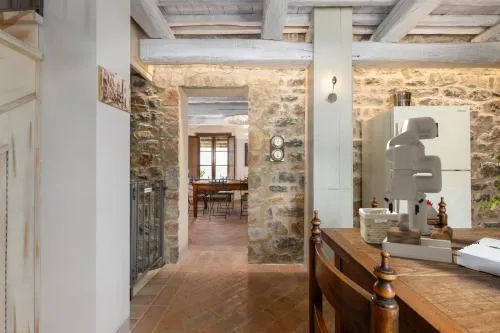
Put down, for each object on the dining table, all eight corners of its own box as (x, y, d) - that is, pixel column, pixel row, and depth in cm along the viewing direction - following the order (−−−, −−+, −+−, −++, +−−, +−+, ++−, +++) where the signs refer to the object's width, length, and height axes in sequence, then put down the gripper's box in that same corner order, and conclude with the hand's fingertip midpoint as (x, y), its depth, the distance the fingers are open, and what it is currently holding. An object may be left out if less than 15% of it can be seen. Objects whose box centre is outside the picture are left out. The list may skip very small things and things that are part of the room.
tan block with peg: (386, 250, 134) (386, 214, 134) (390, 244, 144) (390, 211, 144) (419, 254, 127) (419, 216, 127) (421, 247, 138) (420, 212, 138)
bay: (382, 254, 132) (382, 242, 132) (388, 245, 147) (388, 234, 147) (452, 262, 120) (451, 249, 120) (450, 252, 134) (450, 240, 134)
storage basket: (358, 234, 174) (358, 207, 174) (390, 235, 170) (389, 207, 171) (364, 244, 151) (363, 213, 151) (400, 245, 147) (400, 214, 147)
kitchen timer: (410, 221, 211) (410, 199, 211) (428, 220, 214) (427, 198, 214) (426, 225, 198) (426, 201, 198) (445, 224, 201) (444, 200, 201)
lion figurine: (444, 243, 149) (444, 224, 149) (456, 246, 145) (456, 226, 145) (424, 247, 143) (424, 227, 143) (436, 250, 138) (435, 229, 138)
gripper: (426, 173, 135) (427, 214, 134) (383, 173, 144) (383, 211, 143) (425, 173, 128) (426, 216, 128) (380, 173, 137) (380, 213, 137)
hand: (403, 213), depth 135 cm, fingers open, 9 cm apart
